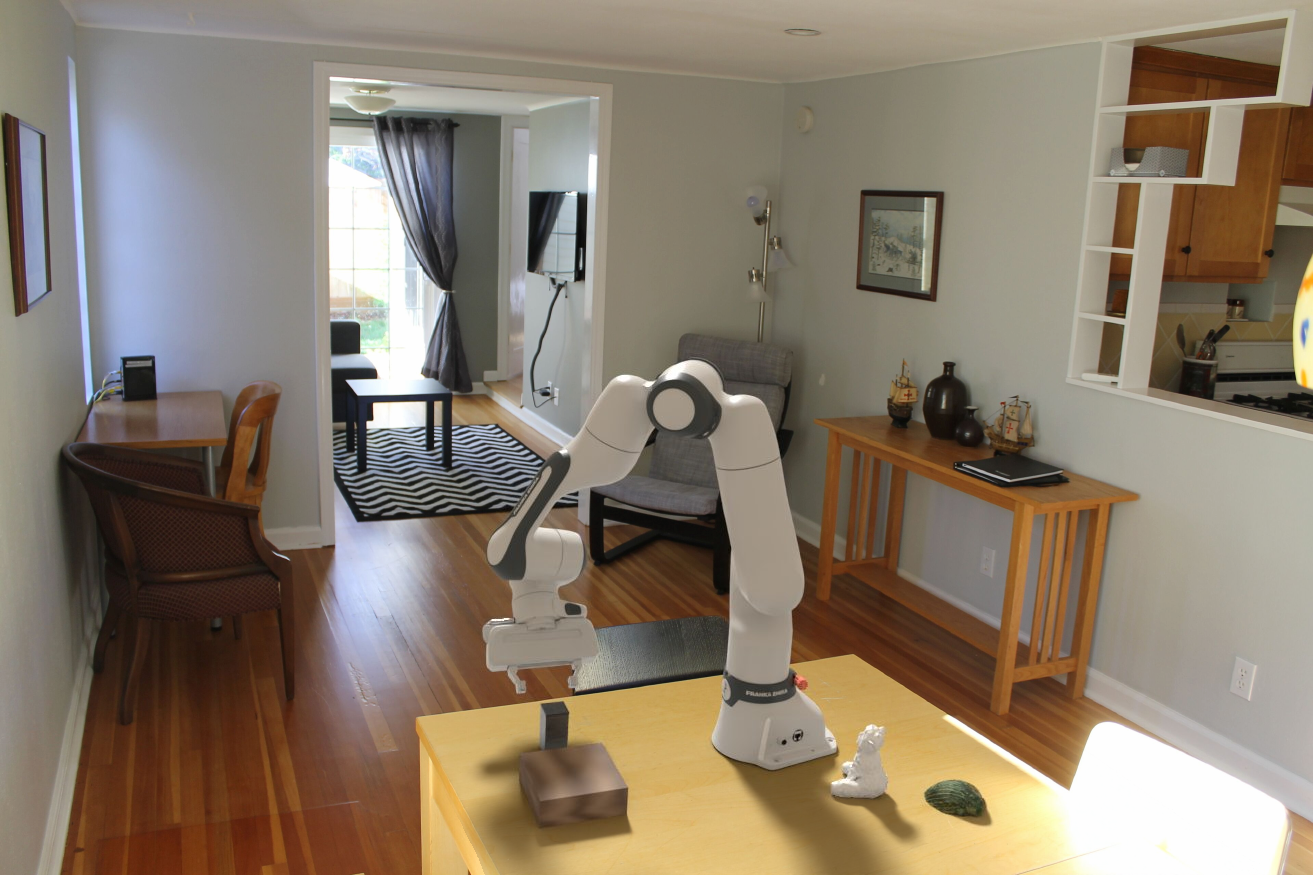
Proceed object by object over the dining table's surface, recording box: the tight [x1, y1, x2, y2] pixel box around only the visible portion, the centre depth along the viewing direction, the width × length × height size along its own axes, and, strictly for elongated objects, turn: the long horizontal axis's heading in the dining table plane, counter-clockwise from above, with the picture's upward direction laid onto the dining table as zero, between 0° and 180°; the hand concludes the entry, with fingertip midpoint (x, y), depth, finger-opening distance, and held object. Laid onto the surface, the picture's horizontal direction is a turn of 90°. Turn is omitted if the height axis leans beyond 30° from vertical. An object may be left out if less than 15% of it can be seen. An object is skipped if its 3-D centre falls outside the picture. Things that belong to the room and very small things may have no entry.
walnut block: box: [518, 742, 629, 829], centre depth 161 cm, size 14×14×5 cm
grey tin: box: [538, 700, 570, 751], centre depth 174 cm, size 4×4×8 cm
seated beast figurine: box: [830, 724, 889, 799], centre depth 167 cm, size 10×9×12 cm
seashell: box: [923, 779, 987, 818], centre depth 166 cm, size 10×4×10 cm
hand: (547, 689), depth 178 cm, fingers open, 8 cm apart
